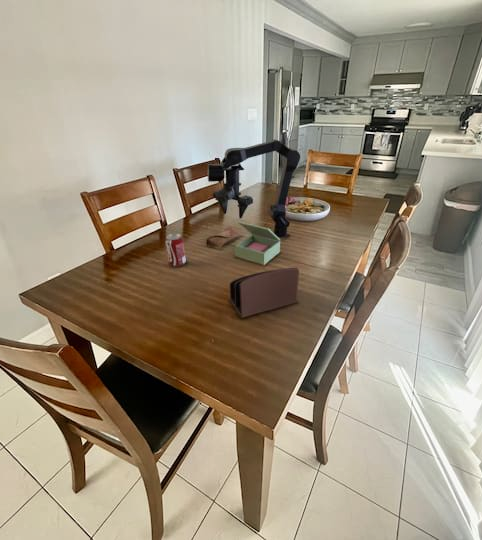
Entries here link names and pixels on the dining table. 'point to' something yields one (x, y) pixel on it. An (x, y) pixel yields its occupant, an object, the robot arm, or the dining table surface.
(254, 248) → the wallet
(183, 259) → the soda can
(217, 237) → the sunglasses case
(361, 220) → the dining table surface
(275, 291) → the letter holder
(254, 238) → the keepsake box
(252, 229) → the lid
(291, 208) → the bowl
